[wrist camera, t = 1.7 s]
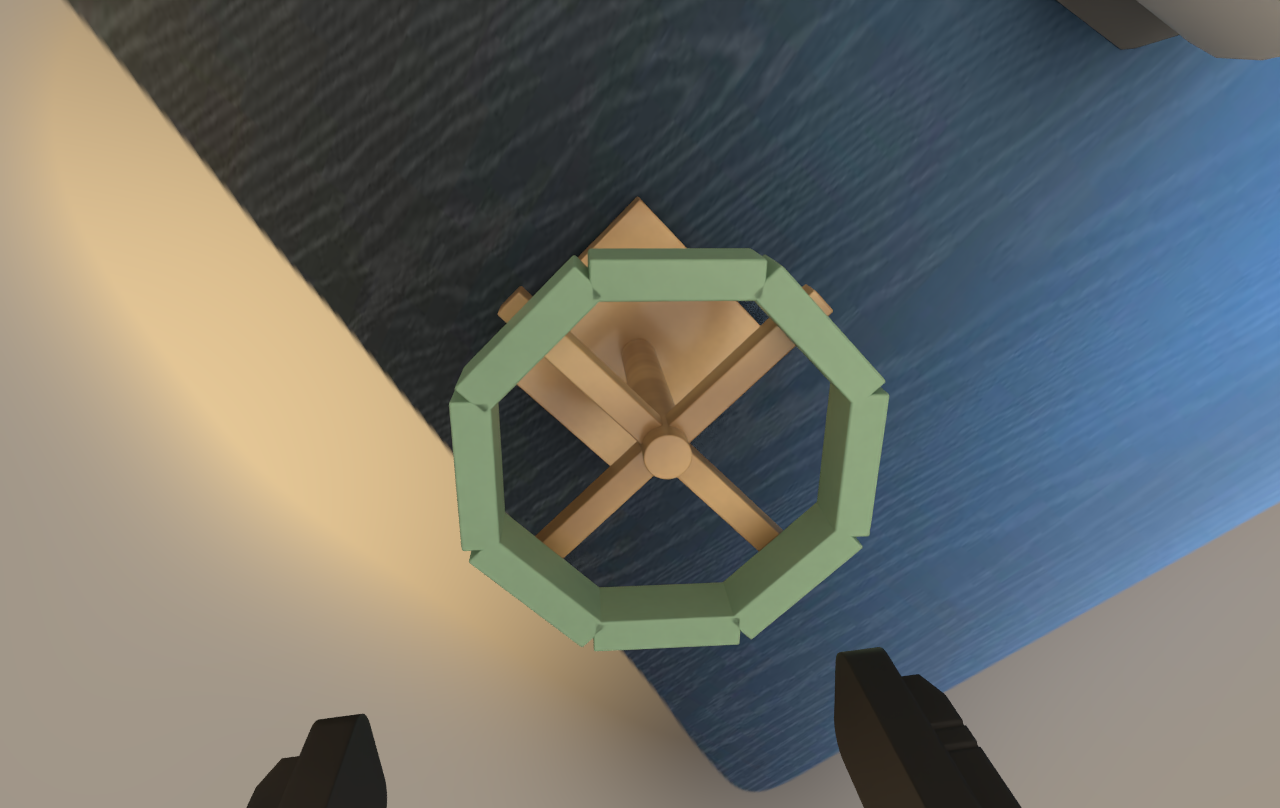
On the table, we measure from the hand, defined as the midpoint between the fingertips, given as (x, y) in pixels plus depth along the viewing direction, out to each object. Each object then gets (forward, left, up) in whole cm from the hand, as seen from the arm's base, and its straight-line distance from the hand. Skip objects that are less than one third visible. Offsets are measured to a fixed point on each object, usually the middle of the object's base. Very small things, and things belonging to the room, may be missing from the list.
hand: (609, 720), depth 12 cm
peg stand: (+2, -2, -24) cm, 24 cm away
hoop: (+2, -2, -12) cm, 13 cm away
